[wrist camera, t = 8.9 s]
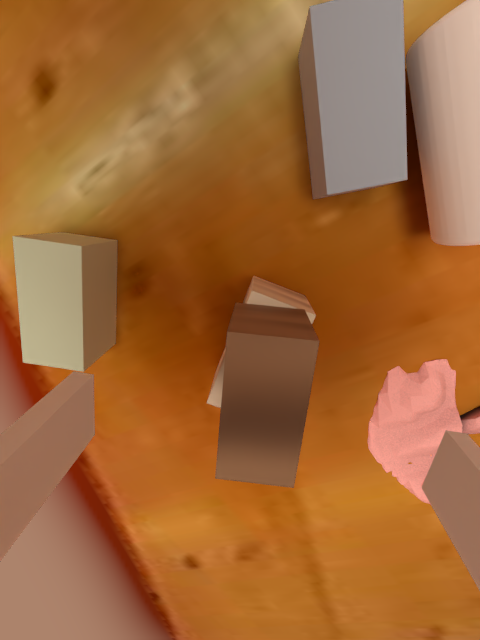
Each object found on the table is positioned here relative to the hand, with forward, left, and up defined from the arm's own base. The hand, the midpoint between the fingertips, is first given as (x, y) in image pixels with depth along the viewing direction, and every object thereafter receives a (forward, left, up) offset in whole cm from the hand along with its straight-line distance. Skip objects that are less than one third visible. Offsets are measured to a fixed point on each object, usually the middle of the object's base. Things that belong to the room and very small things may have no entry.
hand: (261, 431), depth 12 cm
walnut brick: (+1, 0, -8) cm, 8 cm away
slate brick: (-14, +3, -13) cm, 19 cm away
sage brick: (-1, -13, -13) cm, 18 cm away
